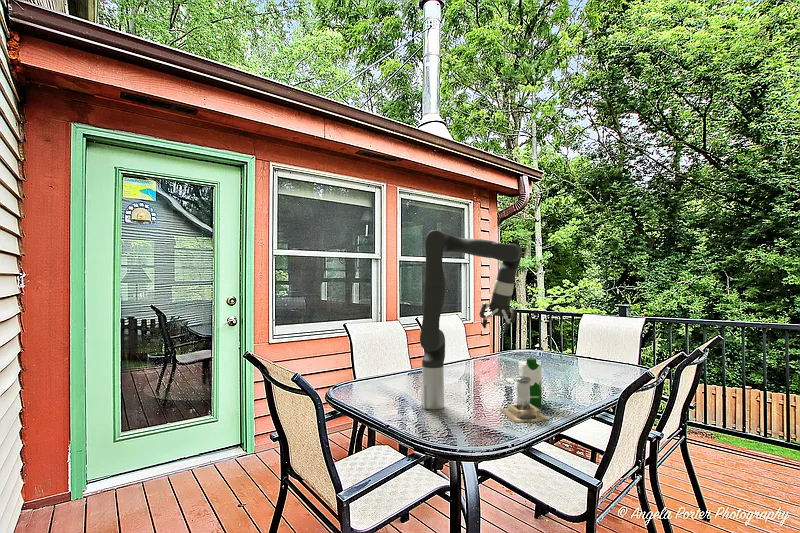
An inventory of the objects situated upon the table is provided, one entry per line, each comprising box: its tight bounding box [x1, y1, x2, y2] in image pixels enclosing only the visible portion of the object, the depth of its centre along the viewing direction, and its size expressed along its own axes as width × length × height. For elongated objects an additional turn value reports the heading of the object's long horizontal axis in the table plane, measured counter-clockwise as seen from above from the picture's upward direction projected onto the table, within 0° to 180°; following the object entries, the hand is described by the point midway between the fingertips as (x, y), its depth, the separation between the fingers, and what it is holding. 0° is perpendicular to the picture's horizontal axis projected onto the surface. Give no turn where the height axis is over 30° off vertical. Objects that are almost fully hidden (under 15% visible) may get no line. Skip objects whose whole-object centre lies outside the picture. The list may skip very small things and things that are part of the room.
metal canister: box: [515, 375, 531, 410], centre depth 163 cm, size 6×6×14 cm
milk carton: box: [518, 357, 543, 408], centre depth 178 cm, size 9×9×20 cm
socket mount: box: [499, 403, 550, 424], centre depth 163 cm, size 14×14×3 cm
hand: (494, 329), depth 170 cm, fingers open, 8 cm apart
